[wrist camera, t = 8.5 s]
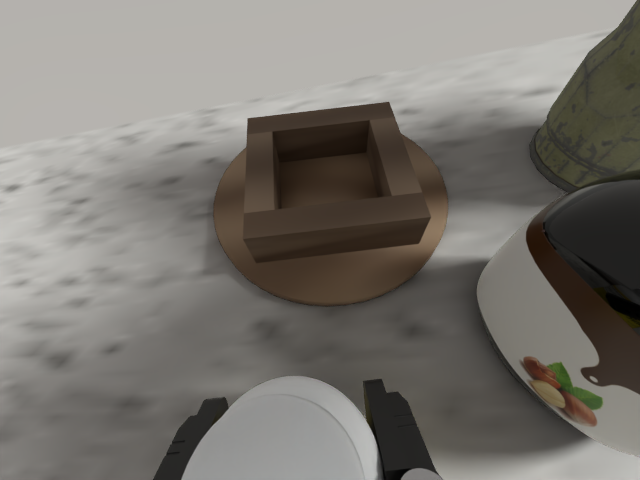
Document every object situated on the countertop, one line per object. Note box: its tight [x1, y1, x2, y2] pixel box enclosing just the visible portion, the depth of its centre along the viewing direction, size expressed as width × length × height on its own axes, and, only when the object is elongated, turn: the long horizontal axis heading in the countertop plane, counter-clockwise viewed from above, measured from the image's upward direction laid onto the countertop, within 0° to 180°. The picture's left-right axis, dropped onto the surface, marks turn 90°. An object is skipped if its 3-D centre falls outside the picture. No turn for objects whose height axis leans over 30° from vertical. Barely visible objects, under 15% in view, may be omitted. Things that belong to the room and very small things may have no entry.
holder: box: [213, 102, 448, 306], centre depth 21 cm, size 17×17×4 cm
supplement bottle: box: [181, 376, 384, 480], centre depth 10 cm, size 5×5×10 cm
